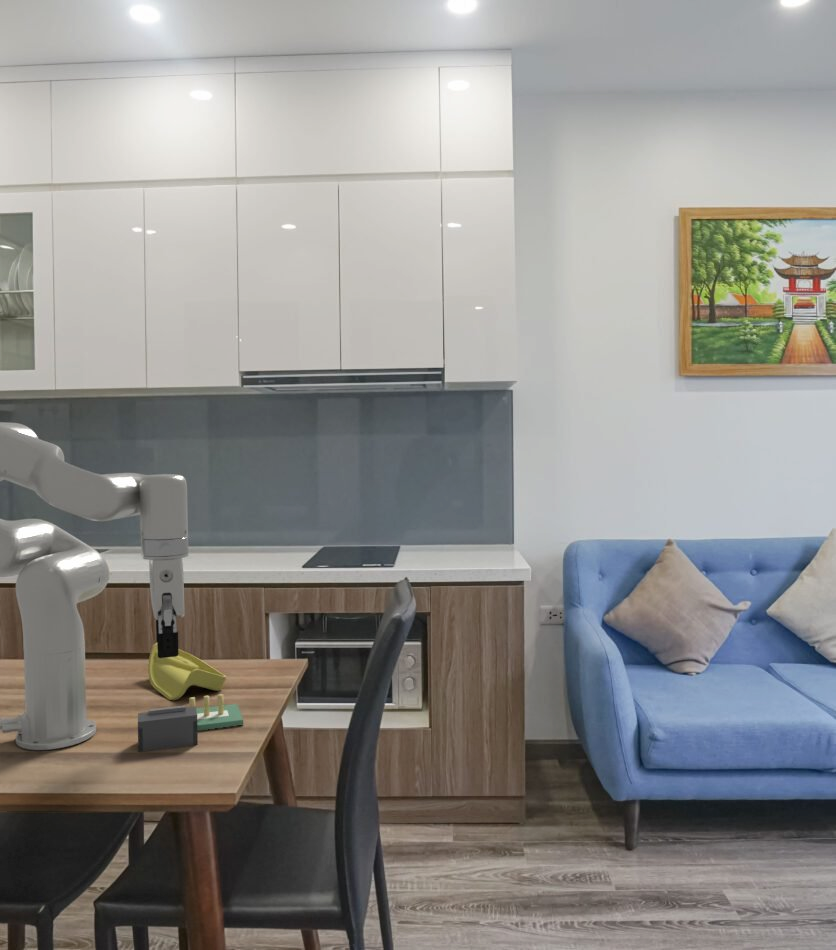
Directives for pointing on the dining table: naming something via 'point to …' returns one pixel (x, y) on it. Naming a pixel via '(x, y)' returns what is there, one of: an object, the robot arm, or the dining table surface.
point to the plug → (167, 728)
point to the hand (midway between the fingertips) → (167, 649)
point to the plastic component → (181, 674)
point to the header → (216, 714)
